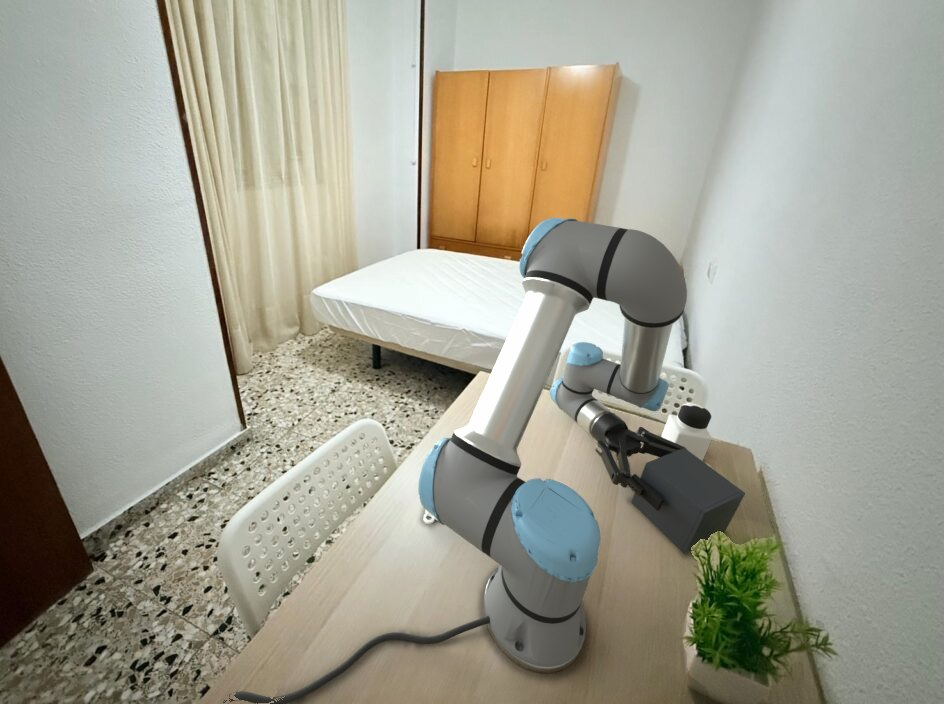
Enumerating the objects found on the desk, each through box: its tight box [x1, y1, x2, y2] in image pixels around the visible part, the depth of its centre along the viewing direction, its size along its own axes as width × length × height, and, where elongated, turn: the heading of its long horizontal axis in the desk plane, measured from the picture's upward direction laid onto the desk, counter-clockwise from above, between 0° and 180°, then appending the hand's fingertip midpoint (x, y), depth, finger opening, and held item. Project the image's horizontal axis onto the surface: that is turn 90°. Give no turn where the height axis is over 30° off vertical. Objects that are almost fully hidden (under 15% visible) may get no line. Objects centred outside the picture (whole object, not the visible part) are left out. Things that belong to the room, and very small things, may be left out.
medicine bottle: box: [660, 402, 713, 462], centre depth 94 cm, size 7×7×12 cm
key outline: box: [422, 508, 438, 525], centre depth 80 cm, size 13×5×2 cm, turn 114°
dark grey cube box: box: [631, 448, 747, 555], centre depth 77 cm, size 12×11×11 cm
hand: (685, 494), depth 77 cm, fingers open, 13 cm apart
